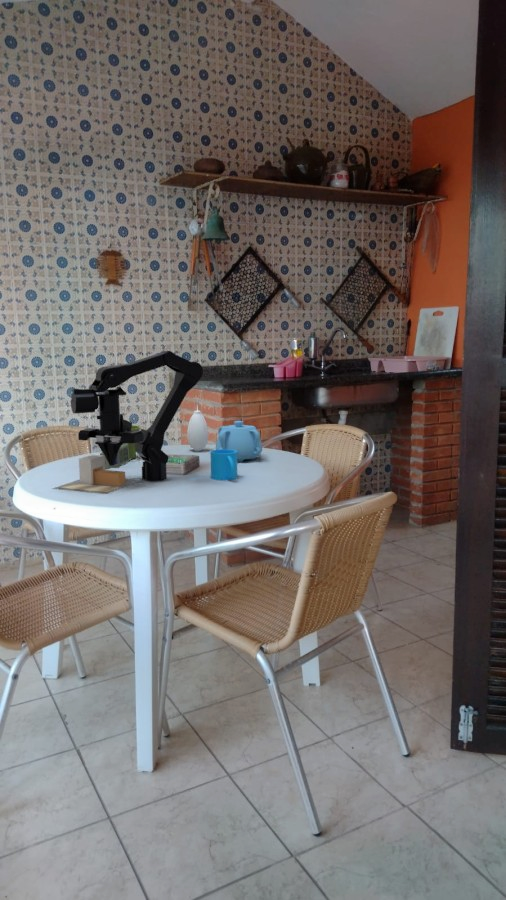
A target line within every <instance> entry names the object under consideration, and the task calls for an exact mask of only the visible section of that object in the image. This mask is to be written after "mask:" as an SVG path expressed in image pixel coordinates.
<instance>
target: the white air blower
mask: <svg viewBox="0 0 506 900" xmlns="http://www.w3.org/2000/svg"><path fill="white" fill-rule="evenodd" d="M198 407H199V405H198V404H197V403H196V410H194V411H193V414H192V415H191V416H190V419H189V422H188V425H187V432H186V433H187V437H186V438H187V441H188V445H189V446H190V448H191V449H192V450H193V451H195V452H202V450H204V448H206V447H207V445H208V441H209V428H208V423H207V421H206V419H205V417H204V414H202V412H201V410H199V408H198Z"/></svg>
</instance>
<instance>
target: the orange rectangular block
mask: <svg viewBox="0 0 506 900" xmlns="http://www.w3.org/2000/svg"><path fill="white" fill-rule="evenodd" d="M93 479H94V484H102V485H113V486H120V485H123V484H125V479H126V471H123V470H122V471H121V470H120V471H119V470H110V469H105V470H99V469H93Z"/></svg>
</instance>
